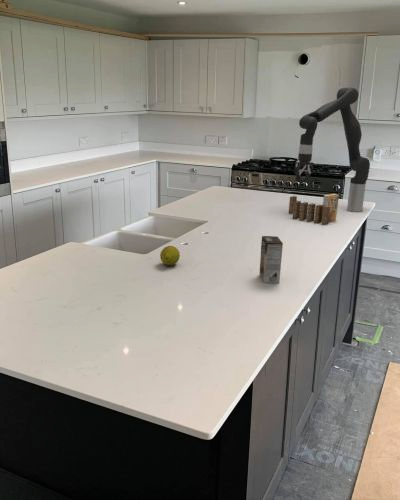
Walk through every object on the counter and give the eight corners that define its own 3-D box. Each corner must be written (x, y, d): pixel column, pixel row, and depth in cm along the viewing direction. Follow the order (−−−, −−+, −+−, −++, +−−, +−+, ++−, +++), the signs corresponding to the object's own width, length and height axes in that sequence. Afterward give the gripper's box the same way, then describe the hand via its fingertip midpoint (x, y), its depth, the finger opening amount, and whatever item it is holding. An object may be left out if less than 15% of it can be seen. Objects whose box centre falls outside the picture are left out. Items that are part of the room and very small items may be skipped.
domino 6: (325, 223, 287) (327, 205, 284) (328, 223, 286) (330, 206, 283) (321, 224, 283) (323, 207, 280) (324, 225, 282) (326, 207, 279)
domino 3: (303, 218, 295) (305, 201, 292) (306, 219, 294) (308, 202, 291) (299, 220, 291) (301, 203, 288) (302, 221, 290) (304, 203, 287)
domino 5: (317, 221, 289) (319, 204, 287) (321, 222, 288) (323, 204, 285) (314, 223, 286) (315, 205, 283) (317, 223, 285) (319, 206, 282)
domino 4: (310, 220, 292) (312, 203, 289) (313, 220, 291) (315, 203, 288) (306, 221, 288) (308, 204, 285) (309, 222, 287) (311, 205, 284)
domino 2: (296, 217, 297) (298, 200, 294) (299, 218, 296) (301, 201, 293) (292, 219, 294) (293, 201, 291) (295, 219, 292) (297, 202, 289)
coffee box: (258, 274, 202) (261, 235, 198) (274, 274, 203) (277, 235, 198) (263, 283, 194) (266, 242, 189) (279, 283, 194) (283, 242, 190)
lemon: (166, 260, 217) (166, 241, 214) (183, 262, 214) (183, 244, 212) (155, 267, 207) (155, 248, 205) (172, 270, 204) (172, 251, 202)
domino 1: (292, 212, 311) (293, 195, 308) (295, 212, 309) (296, 196, 306) (288, 213, 307) (289, 197, 304) (291, 214, 306) (292, 197, 303)
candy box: (330, 219, 295) (333, 193, 291) (336, 221, 292) (339, 194, 287) (320, 221, 290) (323, 194, 285) (326, 223, 287) (329, 196, 282)
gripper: (307, 151, 298) (305, 178, 303) (292, 152, 289) (289, 180, 294) (318, 152, 293) (315, 180, 298) (302, 153, 284) (300, 182, 289)
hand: (302, 180), depth 296 cm, fingers open, 8 cm apart
